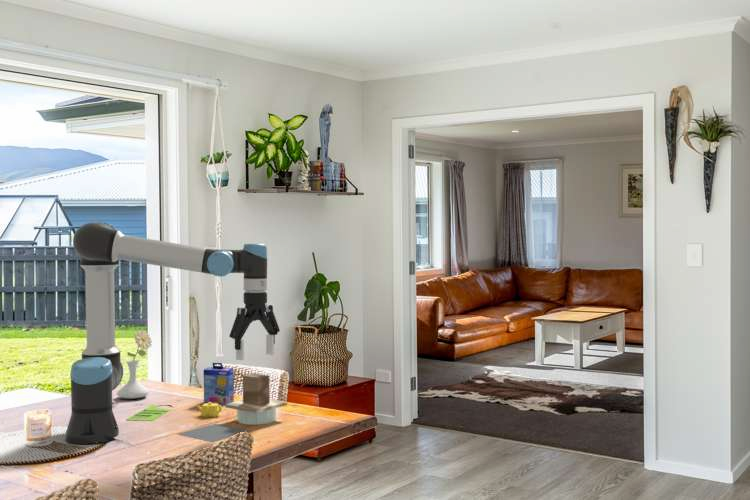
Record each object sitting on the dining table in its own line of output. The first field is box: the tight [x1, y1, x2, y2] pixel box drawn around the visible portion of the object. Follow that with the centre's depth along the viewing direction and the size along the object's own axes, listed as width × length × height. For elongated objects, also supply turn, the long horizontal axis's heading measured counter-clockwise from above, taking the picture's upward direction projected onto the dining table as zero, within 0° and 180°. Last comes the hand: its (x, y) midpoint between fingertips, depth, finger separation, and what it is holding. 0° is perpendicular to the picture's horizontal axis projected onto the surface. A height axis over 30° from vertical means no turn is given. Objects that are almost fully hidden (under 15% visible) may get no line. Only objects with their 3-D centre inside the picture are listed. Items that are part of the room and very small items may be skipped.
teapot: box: [197, 402, 223, 418], centre depth 272 cm, size 8×6×5 cm
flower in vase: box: [116, 329, 153, 400], centre depth 305 cm, size 13×11×25 cm
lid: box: [224, 372, 288, 413], centre depth 266 cm, size 14×14×10 cm
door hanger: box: [125, 404, 171, 422], centre depth 282 cm, size 9×1×25 cm
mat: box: [177, 423, 251, 443], centre depth 250 cm, size 16×16×1 cm
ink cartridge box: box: [203, 362, 235, 404], centre depth 297 cm, size 10×6×14 cm, turn 79°
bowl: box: [236, 408, 277, 426], centre depth 266 cm, size 12×12×5 cm
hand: (255, 357), depth 266 cm, fingers open, 13 cm apart
